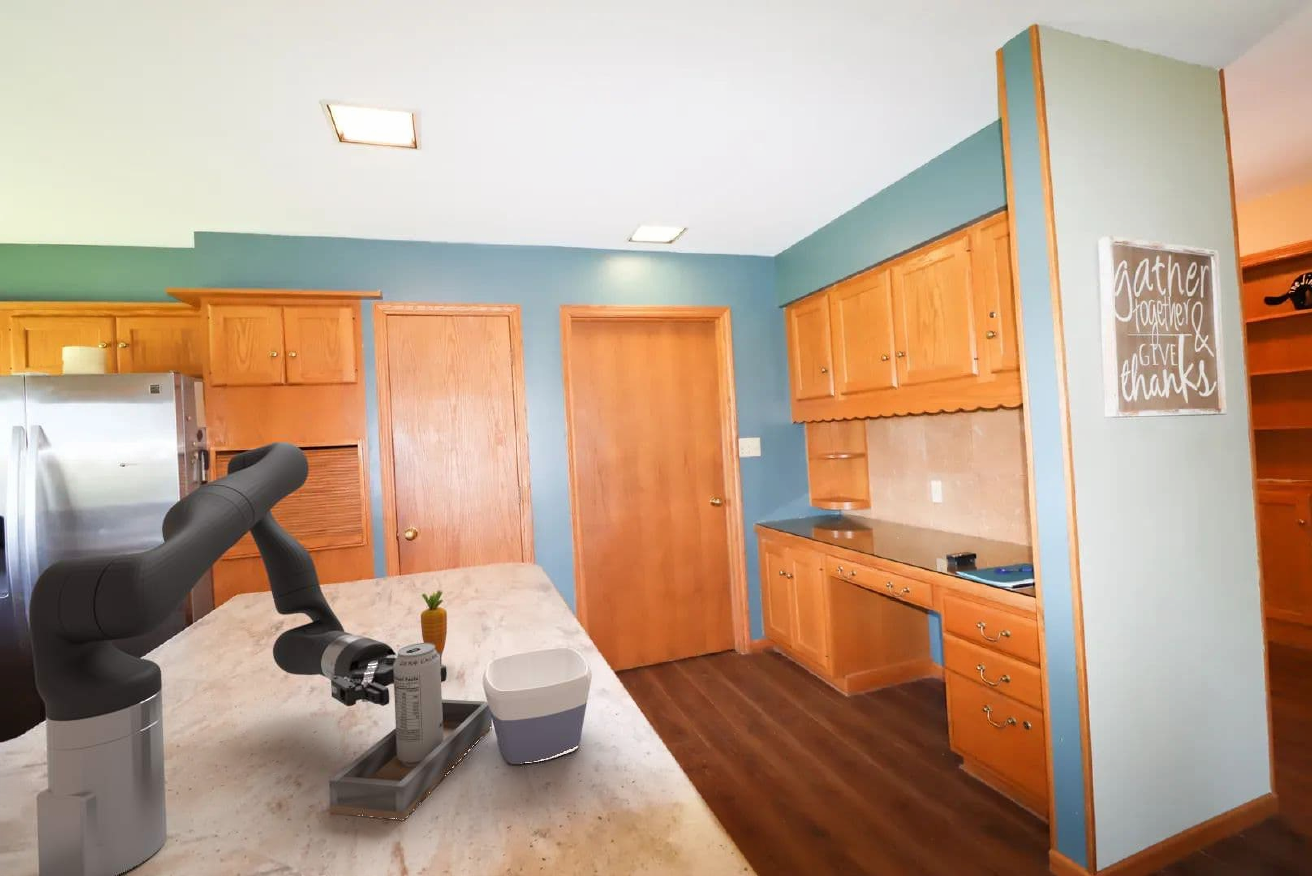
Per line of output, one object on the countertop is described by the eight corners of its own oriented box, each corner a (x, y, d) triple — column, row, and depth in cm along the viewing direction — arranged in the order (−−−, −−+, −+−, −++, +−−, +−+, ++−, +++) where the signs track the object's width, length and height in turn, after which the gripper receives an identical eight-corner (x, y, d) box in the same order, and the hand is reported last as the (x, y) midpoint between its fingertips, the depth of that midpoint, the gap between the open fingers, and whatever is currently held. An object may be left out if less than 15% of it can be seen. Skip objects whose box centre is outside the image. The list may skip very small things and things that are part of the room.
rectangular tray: (404, 820, 67) (403, 786, 67) (330, 813, 69) (329, 780, 69) (491, 727, 89) (491, 701, 89) (433, 723, 91) (432, 698, 91)
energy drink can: (452, 753, 80) (448, 645, 80) (411, 774, 75) (407, 660, 75) (429, 741, 83) (424, 638, 84) (388, 760, 79) (384, 651, 79)
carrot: (416, 667, 115) (414, 592, 115) (436, 658, 119) (434, 586, 119) (434, 670, 113) (431, 594, 113) (453, 661, 117) (451, 588, 117)
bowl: (481, 729, 88) (479, 658, 88) (579, 709, 94) (576, 642, 94) (489, 784, 74) (486, 698, 74) (604, 756, 79) (601, 676, 80)
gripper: (307, 653, 83) (364, 676, 74) (400, 625, 95) (460, 642, 85) (309, 704, 83) (366, 735, 74) (402, 671, 95) (461, 693, 85)
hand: (416, 685), depth 79 cm, fingers open, 8 cm apart
